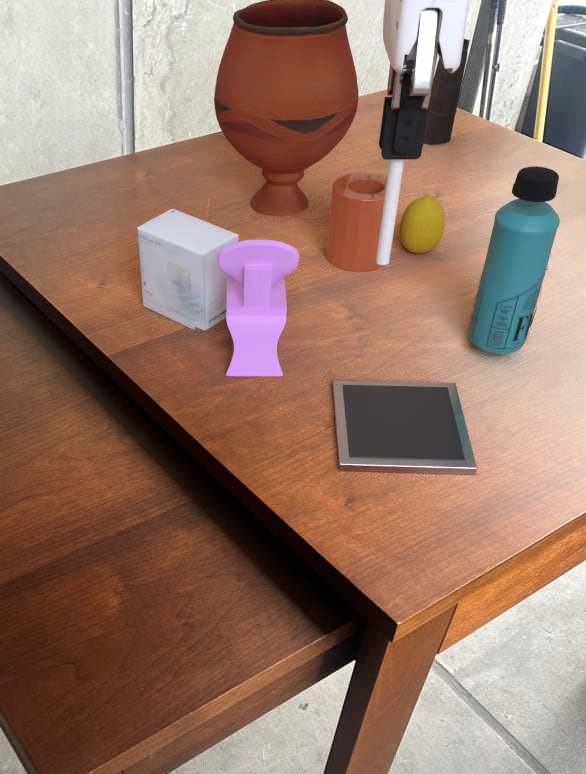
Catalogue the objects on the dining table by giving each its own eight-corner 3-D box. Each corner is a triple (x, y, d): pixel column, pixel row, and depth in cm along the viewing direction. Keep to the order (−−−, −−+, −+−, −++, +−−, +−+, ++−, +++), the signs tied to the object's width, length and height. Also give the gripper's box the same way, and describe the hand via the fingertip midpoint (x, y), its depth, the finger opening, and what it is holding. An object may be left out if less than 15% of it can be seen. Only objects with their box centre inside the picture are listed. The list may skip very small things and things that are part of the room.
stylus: (388, 259, 79) (414, 82, 68) (389, 265, 78) (416, 87, 68) (375, 259, 79) (399, 82, 68) (376, 265, 78) (401, 87, 68)
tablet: (454, 389, 93) (456, 381, 92) (475, 475, 83) (477, 467, 82) (331, 386, 93) (332, 379, 93) (338, 471, 84) (339, 463, 83)
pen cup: (384, 248, 115) (396, 172, 108) (390, 277, 110) (402, 200, 103) (324, 247, 116) (331, 172, 109) (326, 277, 110) (334, 200, 103)
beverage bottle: (509, 373, 94) (562, 192, 80) (452, 353, 97) (493, 175, 83) (532, 346, 98) (586, 168, 84) (476, 328, 101) (520, 153, 87)
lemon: (392, 262, 112) (402, 202, 107) (398, 243, 116) (408, 184, 110) (435, 268, 111) (447, 207, 105) (440, 248, 115) (452, 189, 109)
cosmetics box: (140, 307, 106) (134, 225, 99) (175, 287, 109) (173, 206, 102) (203, 337, 101) (203, 253, 94) (239, 315, 104) (241, 232, 97)
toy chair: (289, 333, 101) (297, 208, 91) (292, 376, 95) (302, 247, 84) (218, 333, 102) (218, 208, 91) (216, 376, 95) (217, 248, 85)
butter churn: (440, 157, 136) (479, -55, 116) (391, 141, 141) (421, -65, 121) (474, 141, 140) (517, -66, 120) (425, 126, 145) (460, -75, 125)
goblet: (317, 173, 133) (333, -15, 115) (367, 227, 120) (394, 24, 102) (197, 189, 130) (195, -1, 112) (235, 247, 117) (240, 41, 99)
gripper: (519, -104, 53) (460, 193, 66) (475, -143, 64) (432, 118, 77) (395, -100, 54) (360, 193, 67) (373, -140, 64) (347, 119, 77)
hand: (399, 152), depth 72 cm, fingers closed on stylus, 1 cm apart
